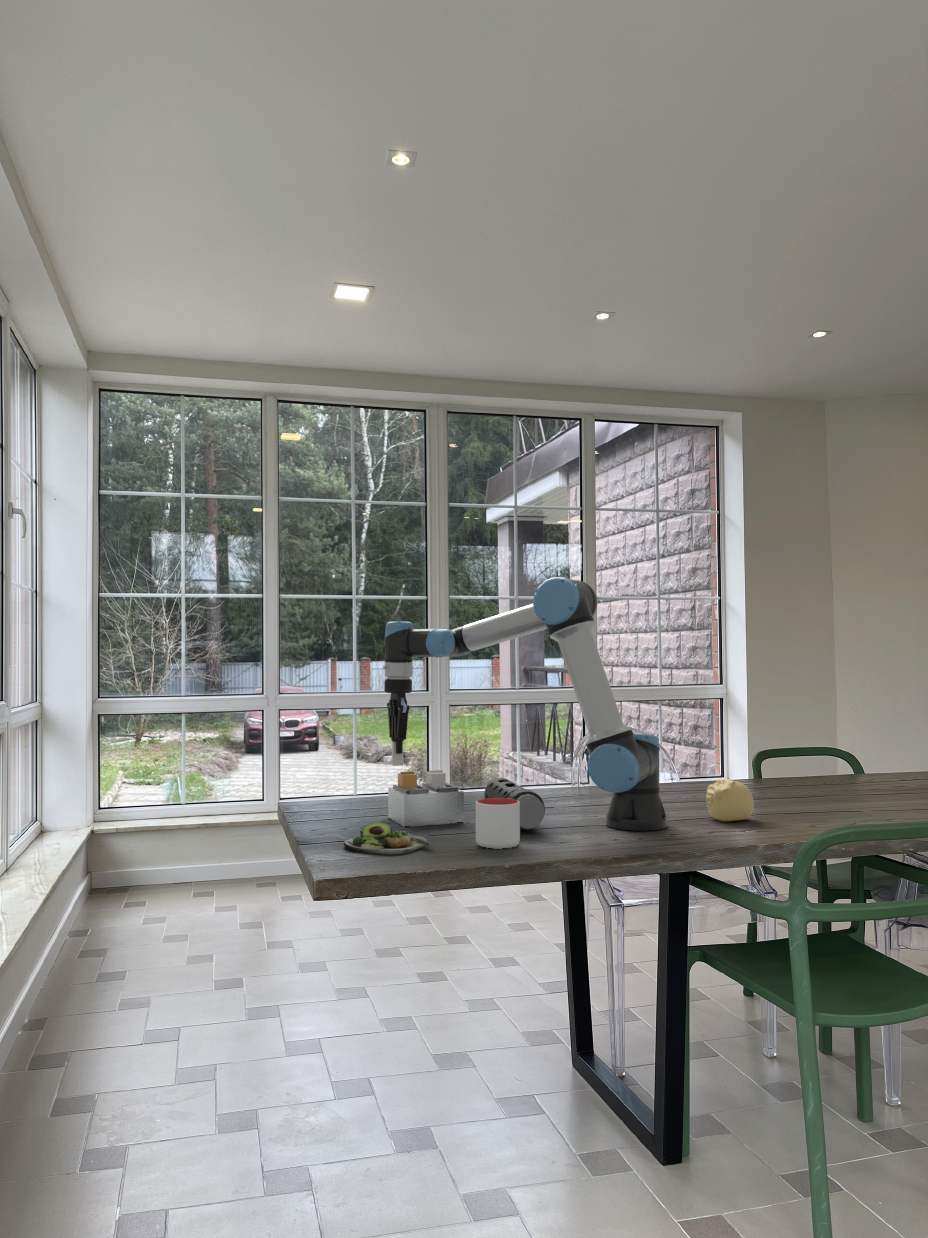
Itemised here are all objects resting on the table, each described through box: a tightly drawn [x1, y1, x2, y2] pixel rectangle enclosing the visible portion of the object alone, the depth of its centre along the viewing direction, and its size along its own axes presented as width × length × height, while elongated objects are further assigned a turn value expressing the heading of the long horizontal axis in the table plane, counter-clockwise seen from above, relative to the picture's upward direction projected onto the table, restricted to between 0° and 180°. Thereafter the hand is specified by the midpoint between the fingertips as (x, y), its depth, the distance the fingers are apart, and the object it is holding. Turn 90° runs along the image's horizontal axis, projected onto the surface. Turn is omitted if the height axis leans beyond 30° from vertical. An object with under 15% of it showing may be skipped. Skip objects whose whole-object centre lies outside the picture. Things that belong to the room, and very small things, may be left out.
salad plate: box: [343, 821, 433, 856], centre depth 208 cm, size 19×18×5 cm
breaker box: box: [387, 782, 465, 828], centre depth 241 cm, size 14×16×9 cm
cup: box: [475, 798, 521, 850], centre depth 210 cm, size 10×10×10 cm
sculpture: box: [705, 778, 755, 822], centre depth 241 cm, size 11×12×11 cm
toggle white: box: [425, 769, 447, 787], centre depth 246 cm, size 4×4×4 cm
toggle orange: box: [397, 770, 418, 789], centre depth 243 cm, size 4×4×4 cm
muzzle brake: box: [483, 777, 546, 831], centre depth 235 cm, size 10×28×10 cm, turn 12°
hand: (397, 765), depth 250 cm, fingers closed
